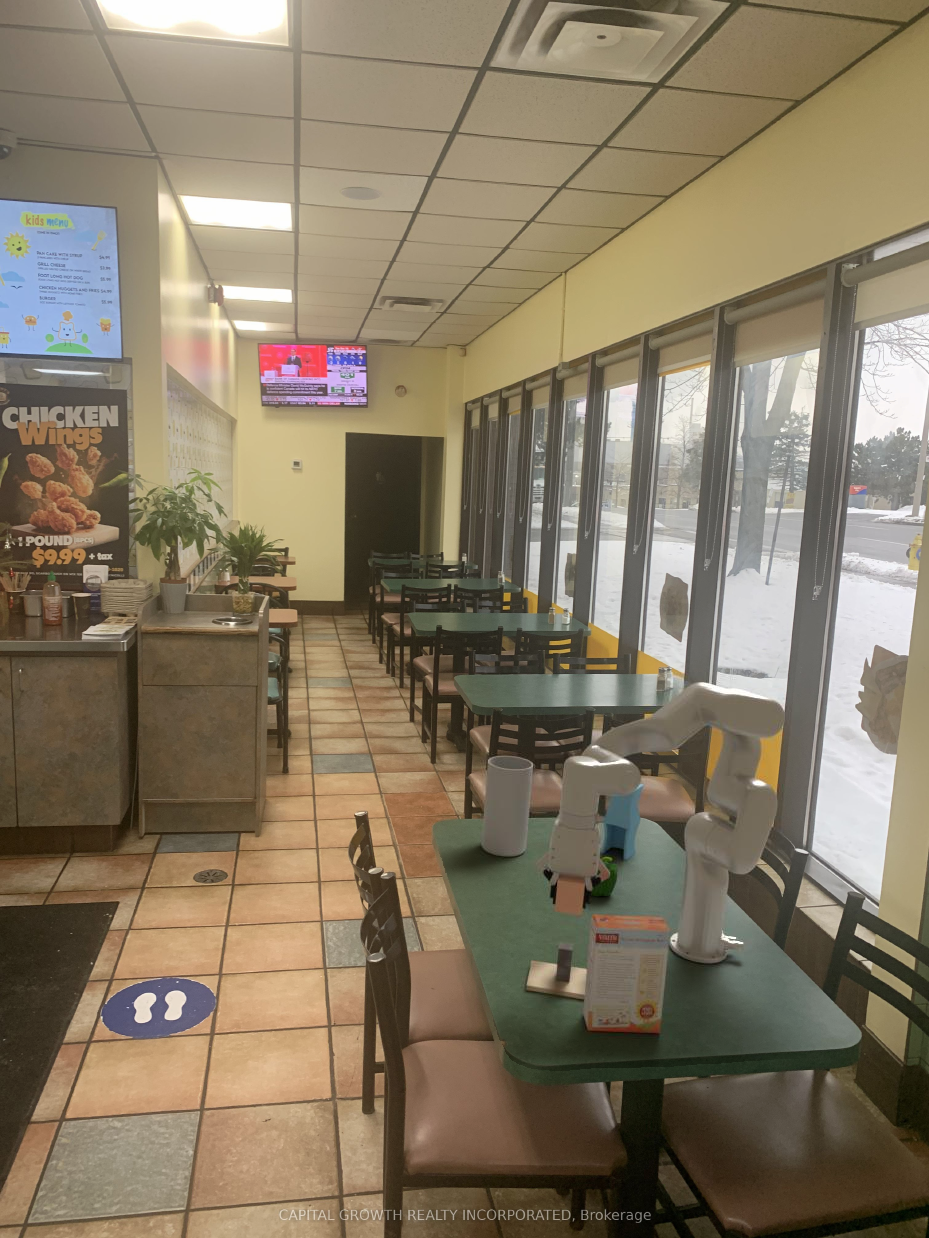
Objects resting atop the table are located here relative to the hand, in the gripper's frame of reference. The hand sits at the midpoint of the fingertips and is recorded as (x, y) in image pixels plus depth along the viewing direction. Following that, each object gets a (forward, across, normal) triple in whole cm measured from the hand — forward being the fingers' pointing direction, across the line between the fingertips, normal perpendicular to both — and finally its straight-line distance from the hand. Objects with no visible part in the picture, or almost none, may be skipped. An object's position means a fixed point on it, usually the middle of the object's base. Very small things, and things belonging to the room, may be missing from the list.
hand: (569, 902), depth 182 cm
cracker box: (+18, -12, +11) cm, 24 cm away
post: (+17, 0, 0) cm, 17 cm away
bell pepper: (+17, -6, -45) cm, 49 cm away
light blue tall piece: (+17, -11, -74) cm, 77 cm away
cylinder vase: (+17, +21, -65) cm, 70 cm away
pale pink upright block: (+1, 0, 0) cm, 1 cm away
